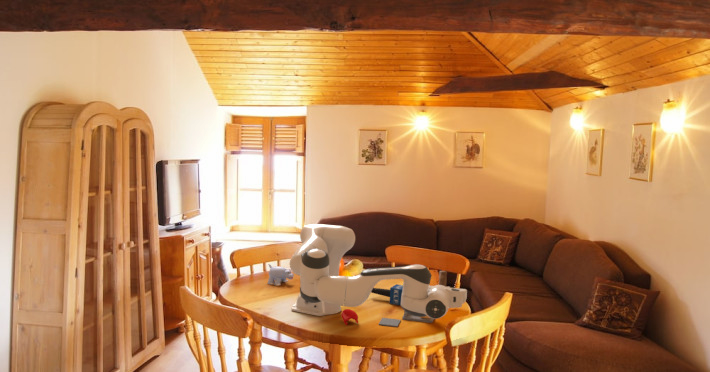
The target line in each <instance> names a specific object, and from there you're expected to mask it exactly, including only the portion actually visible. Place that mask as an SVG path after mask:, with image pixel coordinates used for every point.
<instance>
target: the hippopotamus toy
mask: <svg viewBox="0 0 710 372" xmlns="http://www.w3.org/2000/svg"><path fill="white" fill-rule="evenodd" d="M267 265H268V266H269V268H270V269H269V271H268V280H267V285H274V286H281V285H282V282H283V283H288V282H289V280H293V279H294V275H295V274H294V273H293V272H292V271H291V269H286V268H285V266H284V267H283V266H278V265H277V266H272V265H271V264H269V263H268V264H267Z"/></svg>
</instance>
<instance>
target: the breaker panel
mask: <svg viewBox="0 0 710 372" xmlns="http://www.w3.org/2000/svg"><path fill="white" fill-rule="evenodd" d="M403 312H404V313H403V316H402V319H401V320H403V321H405V320H406V321H412V322H422V323H429V324H433V323H434V319H433V318H430V319H429V318H421V317H417V316H413V315H410V314H408V313H407V312H405V311H403Z"/></svg>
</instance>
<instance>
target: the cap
mask: <svg viewBox="0 0 710 372" xmlns="http://www.w3.org/2000/svg"><path fill="white" fill-rule="evenodd" d="M340 314H341V315H340V316H341V318H342V319H341V320H342V321H343V323H344V325H345V326H347V325H348V321H350V320H354V321H355V322H356V324H359V315H358V314H357V313H356V312H355V310H352V309H350V308H345V309H343V310H341V313H340Z"/></svg>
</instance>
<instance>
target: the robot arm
mask: <svg viewBox="0 0 710 372" xmlns="http://www.w3.org/2000/svg"><path fill="white" fill-rule="evenodd" d="M300 230H301V231H300V232H299V233H300V234H299V238H300V241H301V245H299V246H298V248H297V249H296V250H295V252H294V253H293V254H292V256H291V258H290V259H289V267H290V271H291V272H292V273H293V274H294V275H297V276H299V279H300V280H299V284H300V287H299V294H298V297H297V299H296V301H295V303H293V304H292V306H291V311H293V312H296V313H297V312H298V313H302V314H307V315H313V316H317V317H322V316H326V315H334V314H338V313H340V312H342V307H346V308H347V307H348V308H349V307H351V308H357V307H359V306H361V305H362V304H364V303H365V302H366V301H367V300H368V299H369V297H370V296H371V291H372V289H373V288H375V286H376V285H377V284H378V283H379V282H380V281H383V280H397V279H399V280H400V279H402V281H403V290H402V296H401V304H400V305H401V306H400V305H399V306H400V307H401V309H403V310H404V311H405V312H407V313H408V314H410V315H413V316H417V317H424V316H428V317H430V318H433V320H437V319H441V318H442V317H444V316H445V315H447V312H448V311H449V309H452V308H455V309H456V308H458V309H459V308H462V307H463V305H464V304H465V303H466V301H467V299H468V298H467V297H468V290H467V289H466V288H457V287H451V286H447V285H446V287H445V286H443V285H439V284H435V285H430V284H431V280H432V276H433V275H432V273H431V271H430V270H429V268H428V267H427V266H426V265H423V264H419V263H418V264H417V263H415V264H410V265H409V264H408V265H401V266H386V267H372V268H366V269H363V270H362V271H361V272H360V273H359V274H357V275H353V276H347V275H339V274H340V264H341V260H342V259H343V256H344V255H345V254H346V253H347V252H348V251H349V250H351V249H352V248H353V247H354V245H355V242H356V234H355V232H354V230H353V229H352V228H349V227H347V226H345V225H344V226H343V225H337V224H336V225H335V224H334V225H333V224H326V223H325V224H323V223H310V224H305V225H304V226H303V227H302V229H300ZM404 311H403V312H404Z"/></svg>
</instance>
